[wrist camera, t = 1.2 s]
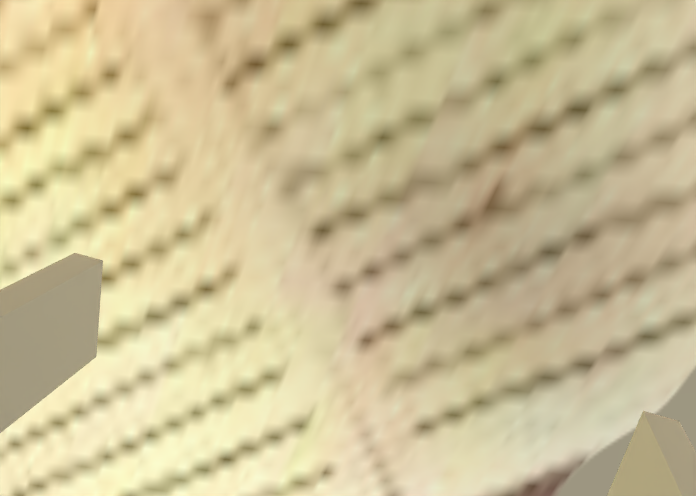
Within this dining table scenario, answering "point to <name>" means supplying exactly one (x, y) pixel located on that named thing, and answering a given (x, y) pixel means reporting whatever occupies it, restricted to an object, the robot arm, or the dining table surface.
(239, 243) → the dining table surface
